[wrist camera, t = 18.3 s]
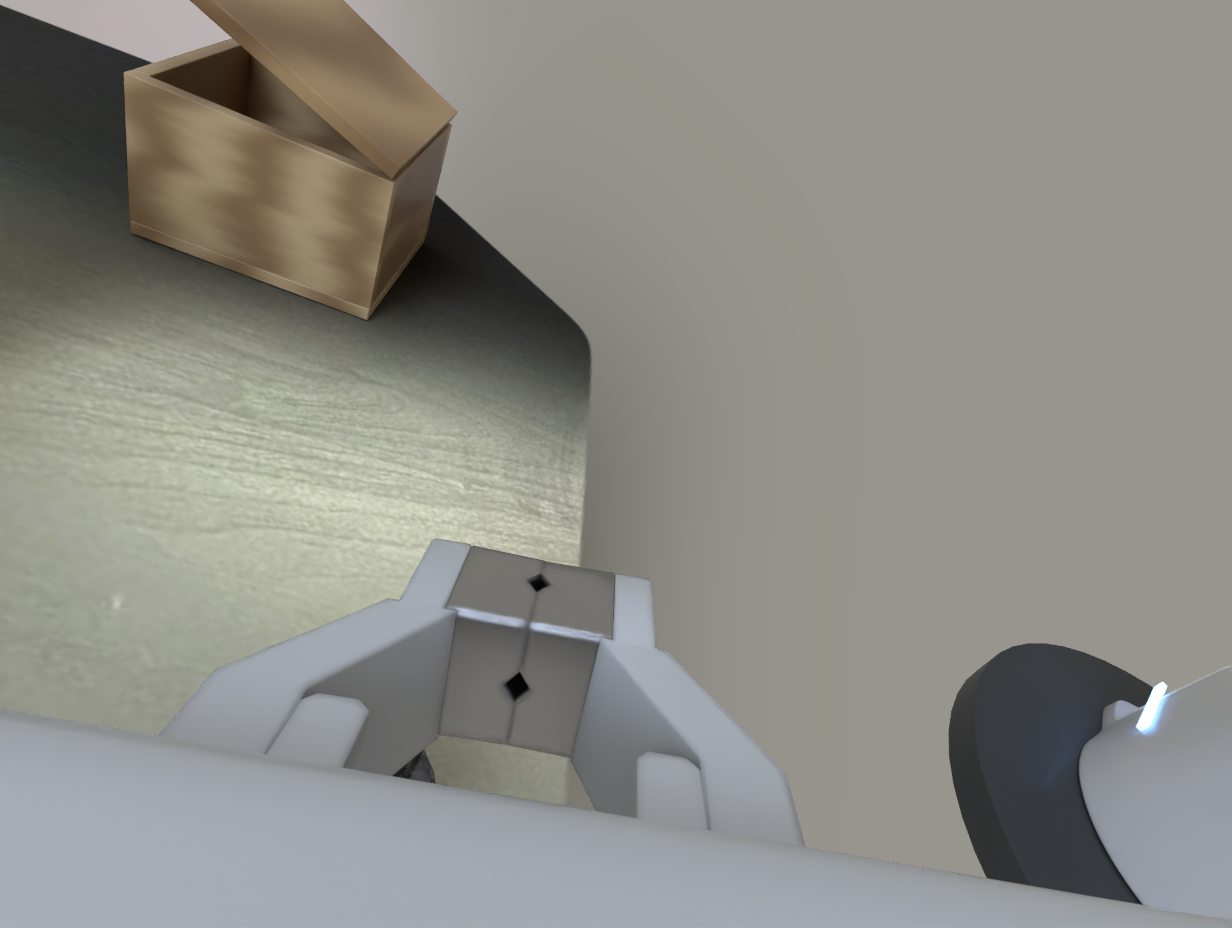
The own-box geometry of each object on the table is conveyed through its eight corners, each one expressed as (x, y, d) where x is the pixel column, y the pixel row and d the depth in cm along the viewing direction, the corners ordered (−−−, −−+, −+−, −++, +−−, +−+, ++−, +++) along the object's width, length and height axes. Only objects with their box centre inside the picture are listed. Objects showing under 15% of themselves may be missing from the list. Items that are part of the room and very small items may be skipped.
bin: (130, 233, 40) (123, 71, 35) (236, 167, 50) (244, 34, 45) (367, 320, 43) (394, 183, 37) (424, 242, 53) (452, 124, 47)
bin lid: (119, -62, 31) (126, -79, 31) (251, -72, 41) (258, -85, 41) (391, 180, 37) (400, 168, 37) (450, 121, 47) (457, 112, 47)
